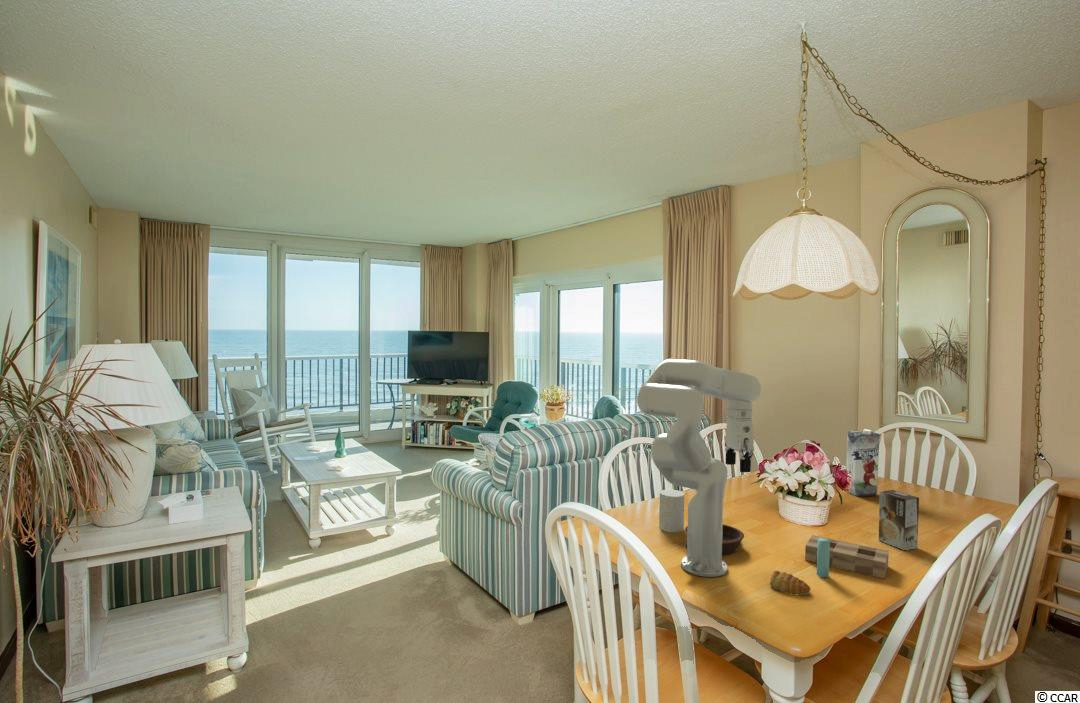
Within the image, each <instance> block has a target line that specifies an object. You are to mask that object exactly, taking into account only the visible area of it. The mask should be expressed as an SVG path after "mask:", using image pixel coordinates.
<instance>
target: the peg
mask: <svg viewBox="0 0 1080 703" xmlns="http://www.w3.org/2000/svg"><path fill="white" fill-rule="evenodd" d="M825 538H826V537H824V538H818V547H817V563H816V576H817V575H818V576H817V577H819V576H820V577H819V578H821V577H828V578H829V577H830V566H829V556H830V540H828V539H825Z"/></svg>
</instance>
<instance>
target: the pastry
mask: <svg viewBox="0 0 1080 703" xmlns="http://www.w3.org/2000/svg"><path fill="white" fill-rule="evenodd" d="M769 585H770V586H771V587H772V588H773V589H774V588H775V589H774V590H777V591H778V590H779V591H781V592H783V593H785V592H787V593H786V594H789V593H792V594H791V595H794V594H798V595H797V596H804V595H806V596H808V595H810V592H811V587H810V585H809V584H808V583H807V582H805V581H804V580H802V579H800V578H799V577H797V576H794V575H793V574H791V573H787V572H786V571H782V572H781V571H779V570H774V571H773V573H772V574H771V577H770V581H769Z"/></svg>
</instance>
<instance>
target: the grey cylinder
mask: <svg viewBox="0 0 1080 703" xmlns="http://www.w3.org/2000/svg"><path fill="white" fill-rule="evenodd" d="M658 509H659V510H658V511H659V513H658V515H659V516H658V528H659V530H661V529H662V531H663V532H667V531H669V532H668V533H680V532H679V531H681V532H683V531H684V530H685V492H683V491H681V490H677V489H672V488H671V489H662V490H659V508H658ZM683 529H684V530H683ZM682 530H683V531H682Z"/></svg>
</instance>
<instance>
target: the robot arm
mask: <svg viewBox="0 0 1080 703" xmlns="http://www.w3.org/2000/svg"><path fill="white" fill-rule="evenodd" d="M637 392H638V393H637V397H636V404H637V406H638V409H639V410H640V411H641V412H642V413H643V414H645V415H648V416H655V417H662V418H663V417H664V418H670V419H675V420H676V421H675V422H674V423H673V424H672V425H671V426H670V427H669V429H668V430H667V432H666V433H665V432H663V433H660V434H658V435H657V436H656V437H654V439H653V441H652V443H651V450H650V454H651V460H652V461H653V464H654V466H655V467H656V468H657V469H658V471H659V473H661V475H662V476H663V478H664V480H666V481H667V482H668V483H670V484H671V485H674V486H677V487H681V488H686V489H692V490H694V491H696V493H695V495H693V496H692V498H690V500H689V502H688V505H687V526H688V531H687V534H686V535H687V536H686V537H687V538H686V541H687V549H686V556H684V557H683V558H681V561H680V565H681V567H682V569H684V570H685V571H686V572H688V573H689V574H692V575H695V576H700V577H706V578H714V577H715V578H717V577H721V576H723V575H725V574H726V573H728V565H727V563H726V562H725V561H724V560H723V554H722V530H723V522H724V500H725V499H724V498H725V492H726V491H725V490H726V487H727V486H726V485H727V480H728V468H727V466H728V465H733V466H734V465H736V462H737V461H736V460H737V459H736V458H737V453H739V454H740V457H741V458H740V459H739V472H740V473H751V467H752V466H751V465H752V459H753V455H754V449H755V445H754V443H755V442H754V441H755V440H754V439H755V436H754V425H753V403H754V402H755V401H756V402H757V400H758V399H759V398H760V396H761V393H762V385H761V382H760V381H759V379H758V378H757V377H756V376H753V375H752V374H749V373H744V372H739V371H735V370H730V369H727V368H721V367H716V366H714V365H711V364H709V363H707V362H704V361H701V360H695V359H679V358H678V359H677V358H675V359H673V358H668V359H665V360H663V361H662V362H661V363H660V364H658V365H657V366H656V367H655V368H654V370H653V371H651V373H650V374H649V376H648V377H647V379H645V381H644V382H643V383H642V384H641V387H640V388H639V389H638V391H637ZM704 396H707V397H713V398H716V399H718V400H722V401H723V400H724V401H726V419H727V420H726V426H725V427H726V428H725V436H724V437H723V438H724V446H725V449H724V450H725V463H724V462H722V461H721V460H719V459H717V458H715V457H714V458H713V457H712V454H711V452H710V449H709V447H708V445H707V444H706V442H705V440H704V439H703V436H702V435H701V433H700V429H701V424H702V419H703V413H704V404H705V403H704V398H703V397H704ZM726 465H727V466H726Z"/></svg>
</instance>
